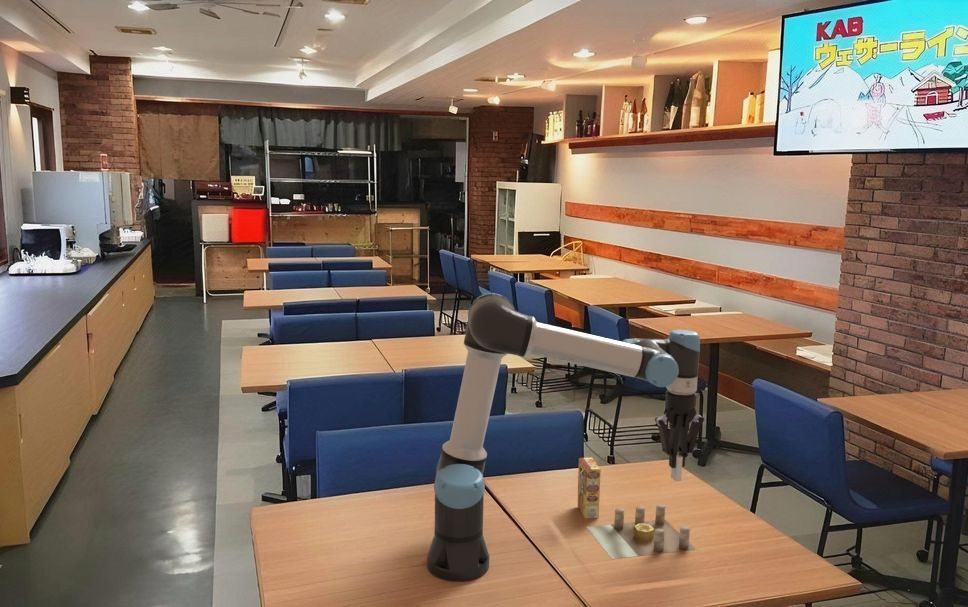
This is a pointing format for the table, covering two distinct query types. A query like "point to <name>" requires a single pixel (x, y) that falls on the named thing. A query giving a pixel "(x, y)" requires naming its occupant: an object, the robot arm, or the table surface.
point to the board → (624, 544)
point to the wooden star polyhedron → (643, 532)
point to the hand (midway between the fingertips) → (676, 478)
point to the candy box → (588, 487)
